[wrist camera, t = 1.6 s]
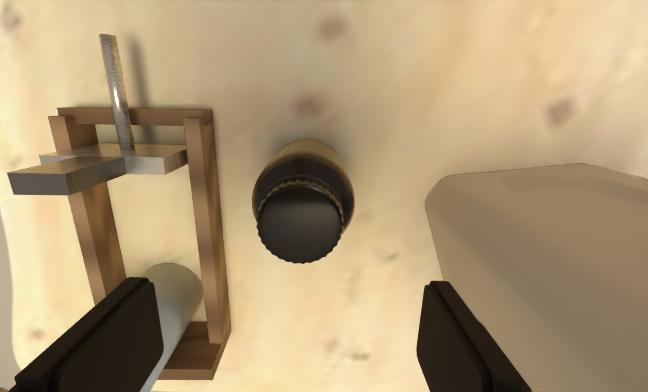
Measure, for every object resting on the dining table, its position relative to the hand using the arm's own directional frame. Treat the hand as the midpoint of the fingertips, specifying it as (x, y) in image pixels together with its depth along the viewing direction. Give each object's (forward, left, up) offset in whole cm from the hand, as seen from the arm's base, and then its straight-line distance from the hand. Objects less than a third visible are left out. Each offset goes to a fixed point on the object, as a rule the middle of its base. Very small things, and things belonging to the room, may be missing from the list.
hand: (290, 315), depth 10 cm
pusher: (-7, -14, -18) cm, 24 cm away
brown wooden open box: (+5, -14, -18) cm, 24 cm away
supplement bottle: (-1, 0, -19) cm, 19 cm away
